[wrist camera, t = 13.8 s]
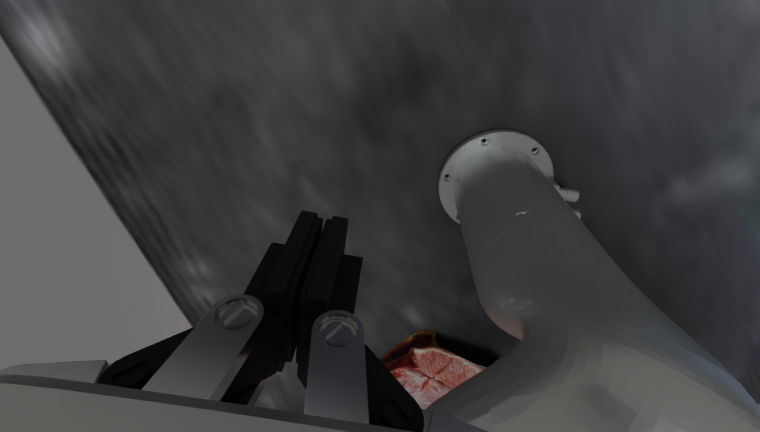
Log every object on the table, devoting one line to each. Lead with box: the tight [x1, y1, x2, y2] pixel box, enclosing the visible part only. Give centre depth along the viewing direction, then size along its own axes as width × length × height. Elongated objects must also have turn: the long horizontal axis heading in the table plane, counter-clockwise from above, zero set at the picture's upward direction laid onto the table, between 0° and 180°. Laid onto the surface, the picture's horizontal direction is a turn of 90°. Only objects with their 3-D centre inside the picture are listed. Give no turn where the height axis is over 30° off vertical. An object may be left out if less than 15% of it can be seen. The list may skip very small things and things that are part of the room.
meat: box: [380, 331, 487, 410], centre depth 56 cm, size 21×21×10 cm
